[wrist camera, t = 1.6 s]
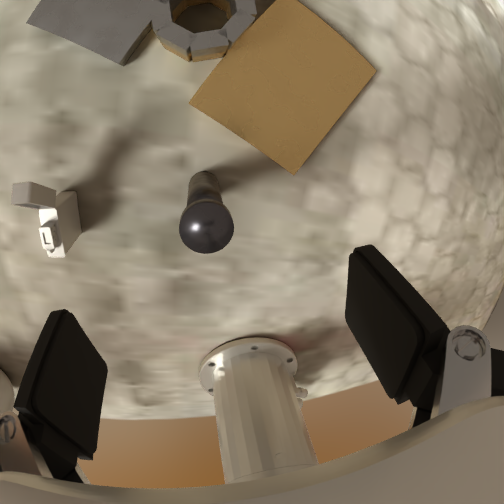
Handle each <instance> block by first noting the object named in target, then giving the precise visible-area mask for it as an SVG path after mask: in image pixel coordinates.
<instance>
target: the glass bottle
mask: <svg viewBox="0 0 504 504" xmlns="http://www.w3.org/2000/svg"><path fill="white" fill-rule="evenodd" d="M13 405H14V390H13V387H12V384H11V382H10V380H9V378H8V377H7V375H6V374H5V373H4V372H3V371H2V370H0V415H1V414H2V413H4V412H7V411H11V412H12V409H13Z"/></svg>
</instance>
